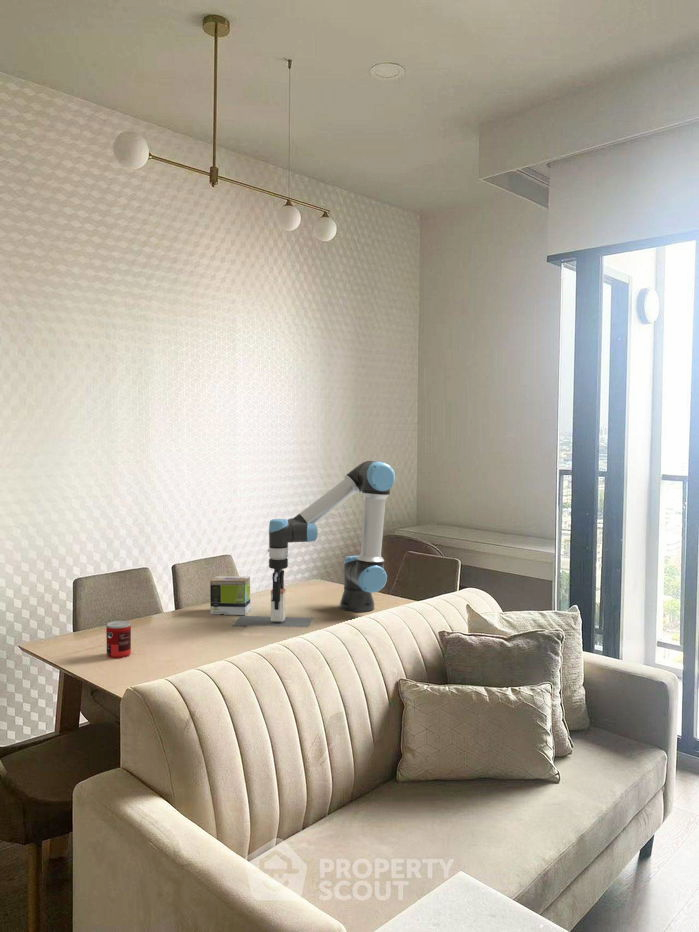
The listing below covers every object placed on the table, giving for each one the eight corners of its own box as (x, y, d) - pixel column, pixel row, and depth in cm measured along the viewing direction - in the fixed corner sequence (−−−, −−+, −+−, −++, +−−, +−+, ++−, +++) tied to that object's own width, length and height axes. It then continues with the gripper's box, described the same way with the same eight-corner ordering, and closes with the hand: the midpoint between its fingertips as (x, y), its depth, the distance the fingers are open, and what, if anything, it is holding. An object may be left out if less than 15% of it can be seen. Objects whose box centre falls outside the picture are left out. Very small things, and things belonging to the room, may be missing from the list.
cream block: (285, 618, 290) (285, 588, 290) (283, 621, 285) (283, 591, 285) (273, 617, 291) (273, 588, 290) (270, 621, 286) (270, 591, 285)
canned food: (109, 652, 249) (109, 620, 249) (133, 651, 250) (132, 620, 249) (103, 659, 242) (103, 626, 241) (128, 658, 242) (128, 626, 242)
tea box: (250, 610, 309) (250, 576, 308) (244, 616, 299) (245, 580, 298) (216, 608, 310) (216, 575, 310) (209, 614, 300) (209, 579, 300)
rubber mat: (312, 619, 295) (312, 617, 295) (308, 628, 281) (308, 627, 281) (240, 616, 297) (240, 615, 297) (232, 626, 283) (232, 624, 283)
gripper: (273, 553, 296) (273, 609, 297) (264, 561, 278) (264, 621, 279) (291, 554, 296) (291, 610, 297) (284, 562, 278) (283, 621, 279)
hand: (278, 615), depth 288 cm, fingers closed on cream block, 5 cm apart
